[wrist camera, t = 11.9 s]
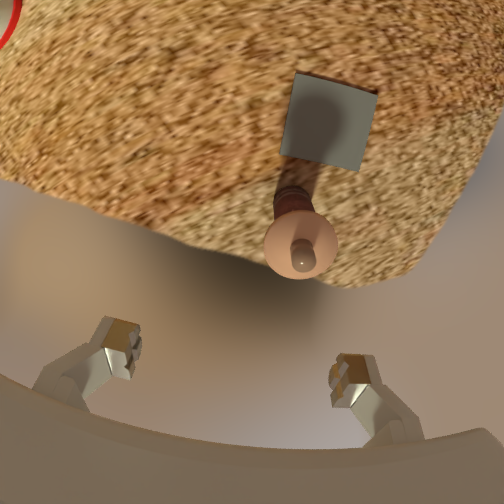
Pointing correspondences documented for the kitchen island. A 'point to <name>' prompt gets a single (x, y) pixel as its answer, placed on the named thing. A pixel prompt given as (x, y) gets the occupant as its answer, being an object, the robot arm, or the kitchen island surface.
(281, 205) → the can
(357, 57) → the kitchen island surface
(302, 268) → the lid
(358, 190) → the kitchen island surface
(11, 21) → the container
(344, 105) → the mat
